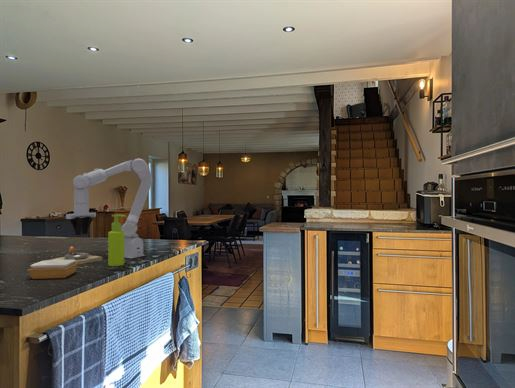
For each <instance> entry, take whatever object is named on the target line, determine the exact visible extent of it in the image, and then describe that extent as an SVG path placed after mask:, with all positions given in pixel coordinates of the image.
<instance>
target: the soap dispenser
mask: <svg viewBox="0 0 515 388" xmlns="http://www.w3.org/2000/svg"><path fill="white" fill-rule="evenodd" d="M111 217H113V222H111V231H108V233H107V235H108V236H107V237H108V238H107V239H108V240H107V242H108V244H107V245H108V246H107V249H108V250H107V252H108V253H107V255H108V256H107V257H108V258H107V264H108V267H109V266H110V267H119V266H123V265H125V258H124V231H121V227H122V223H121V222H120V221H119V220H120V219H119V217H122V218H124V217H126V218H127V215H126V214H121V213H120V214H111Z"/></svg>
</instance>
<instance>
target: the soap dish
mask: <svg viewBox="0 0 515 388" xmlns="http://www.w3.org/2000/svg"><path fill="white" fill-rule="evenodd" d="M75 261H76V260H50V259H46V260H41V261H39V262H35V263H33V264H30V268H27V270H26V271H27V272H28V274H29V276H30V277H31V279H32V280H37V279H38V280H39V279H40V280H43V279H44V280H45V279H65V278H68V277H69V276H71V275H73V274H75V272H76V270H77V268H78V266H79V265H80V264H79V263H75Z"/></svg>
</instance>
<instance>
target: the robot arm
mask: <svg viewBox="0 0 515 388" xmlns="http://www.w3.org/2000/svg"><path fill="white" fill-rule="evenodd" d="M125 171H126V172H135V174H137V176H138V178H139V179H140V185H139V187H138V189H137V193H136V195H135V198H134V200H133V204H132V206H131V209H130V211H129V214H128V215H127V217H126V221H125V223H123V224H121V231H124V259H135V258H141V257H144V256H146V255H145V254H144V241H143V239H142V238H141V237H139V234H137V231H138V222H139V219H140V216H141V213H142V211H143V208H144V205H145V203H146V200H147V199H148V198H147V197H148V195H149V192H150V189H151V186H152V184H153V177H152V173H151V170H150V166H149V165H148V164H147V162H146V160H145V159H142V158H135V159H134V160H133V159H130V160H127V161H123V162H122V163H118V164H116V165H114V166H111V167H109V168H107V169H103V168H94V169H93V170H92V171H89V172H84V173H83V174H79V175H77V176H75V177H74V178H73V180H72V185H73V186H74V193H73V213H66V214H65V219H66V220H69V222H70V223H71V225H72V227H73V230H74V234H75V235H76V236H81V234H82V235H88V233H89V229H90V226H91V224H92V222H93V220H94V218H96V217H97V213H96V212H90V202H89V201H90V194H89V188H90V186H94V185H98V184H100V183H102V182H106V181H107V179H108V177H110V176H115V175H117V174H120V173H122V172H125Z"/></svg>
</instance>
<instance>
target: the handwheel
mask: <svg viewBox="0 0 515 388" xmlns="http://www.w3.org/2000/svg"><path fill="white" fill-rule="evenodd" d="M68 249H69V251H68V253H67V254H64V256H63V257H64V258H65V259H83V258H87V257H89V255H90V254H89V253H88V252H80V251H75V246H69V247H68Z"/></svg>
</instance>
